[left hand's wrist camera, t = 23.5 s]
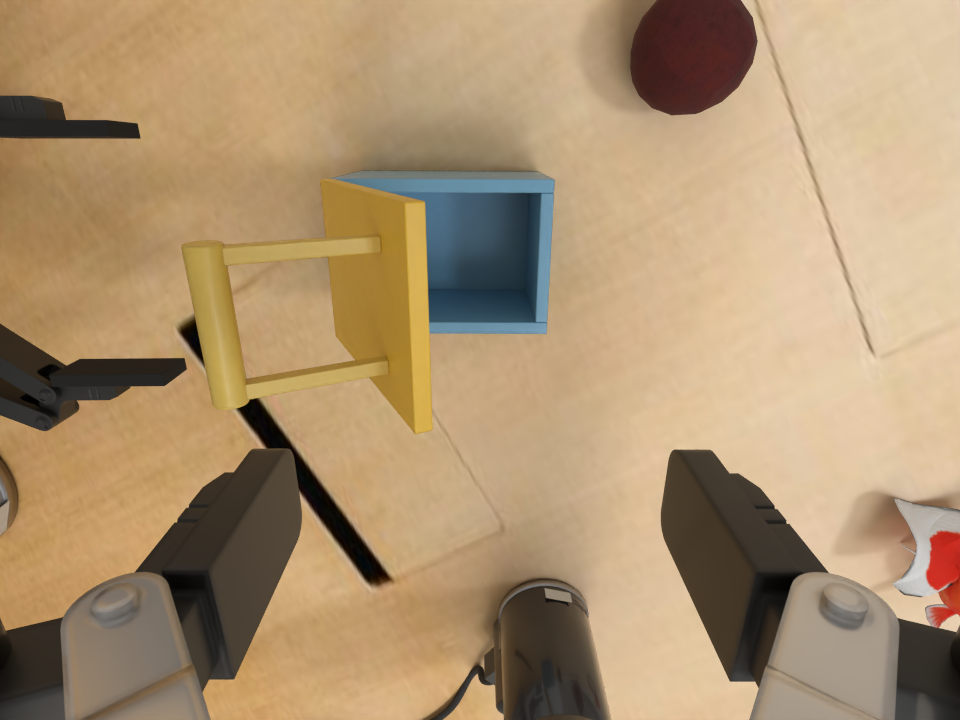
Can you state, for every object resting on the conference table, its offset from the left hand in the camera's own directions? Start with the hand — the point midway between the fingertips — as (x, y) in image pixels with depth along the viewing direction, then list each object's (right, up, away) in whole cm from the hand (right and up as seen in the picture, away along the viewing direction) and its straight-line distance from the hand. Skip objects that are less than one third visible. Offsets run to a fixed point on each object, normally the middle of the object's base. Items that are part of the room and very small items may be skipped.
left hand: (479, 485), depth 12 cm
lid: (-5, +6, +16) cm, 19 cm away
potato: (+14, +24, +27) cm, 38 cm away
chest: (-2, +12, +32) cm, 34 cm away
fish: (+44, -15, +43) cm, 63 cm away
